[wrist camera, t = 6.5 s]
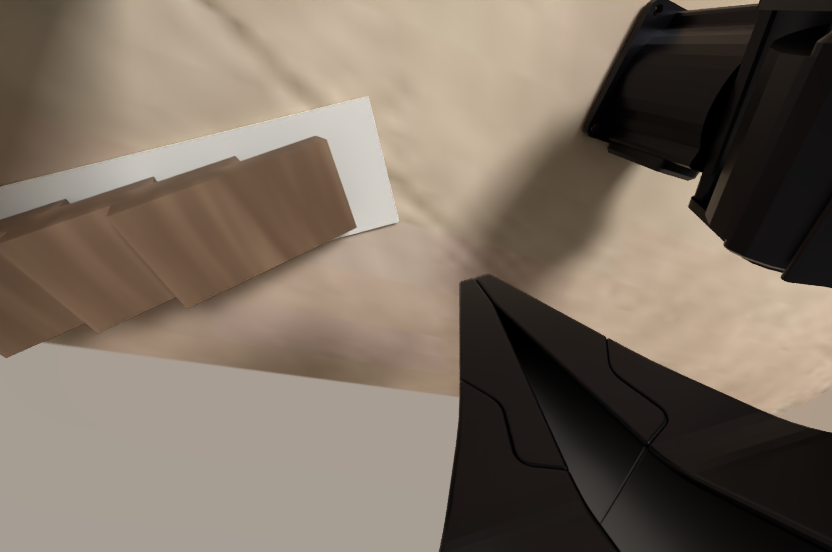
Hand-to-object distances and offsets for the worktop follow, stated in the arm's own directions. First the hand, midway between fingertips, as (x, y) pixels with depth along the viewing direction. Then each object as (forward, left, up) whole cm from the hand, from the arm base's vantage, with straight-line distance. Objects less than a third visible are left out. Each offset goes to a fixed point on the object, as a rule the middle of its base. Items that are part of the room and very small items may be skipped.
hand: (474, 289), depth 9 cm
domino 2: (+3, -7, -11) cm, 13 cm away
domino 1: (+2, -3, -11) cm, 11 cm away
